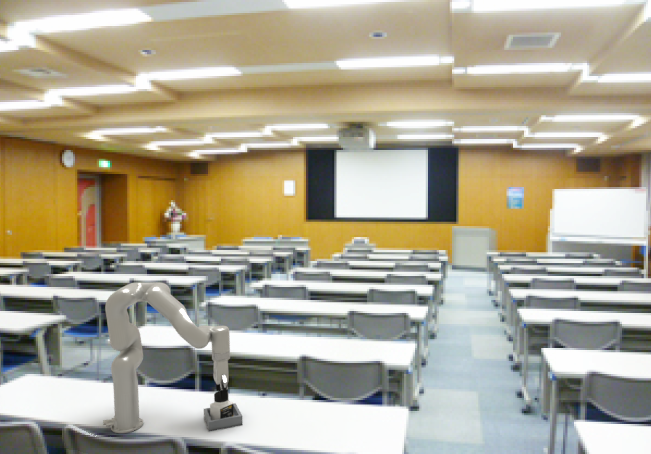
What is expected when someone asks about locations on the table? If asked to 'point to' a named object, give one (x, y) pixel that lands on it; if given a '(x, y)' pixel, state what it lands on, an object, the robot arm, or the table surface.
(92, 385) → the table surface
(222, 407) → the medicine bottle
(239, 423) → the box
